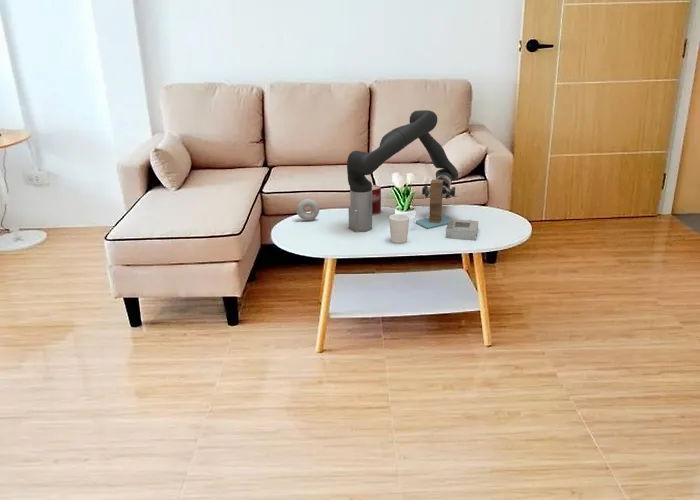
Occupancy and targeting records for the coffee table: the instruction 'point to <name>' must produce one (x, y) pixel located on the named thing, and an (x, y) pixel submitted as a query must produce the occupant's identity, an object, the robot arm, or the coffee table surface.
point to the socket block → (462, 229)
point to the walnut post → (436, 201)
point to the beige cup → (399, 227)
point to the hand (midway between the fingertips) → (436, 195)
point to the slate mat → (428, 225)
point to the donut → (310, 203)
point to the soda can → (376, 199)
